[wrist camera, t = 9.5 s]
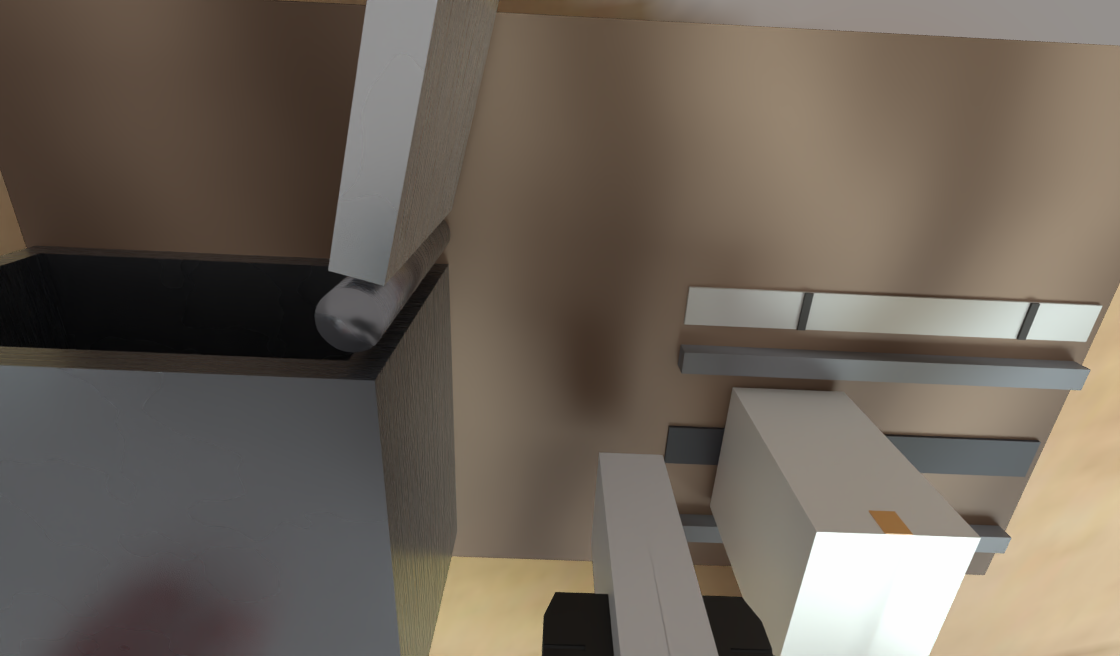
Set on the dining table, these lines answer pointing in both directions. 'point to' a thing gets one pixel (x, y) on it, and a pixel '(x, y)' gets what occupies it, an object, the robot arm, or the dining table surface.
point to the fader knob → (834, 528)
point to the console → (633, 226)
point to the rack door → (401, 158)
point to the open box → (217, 460)
